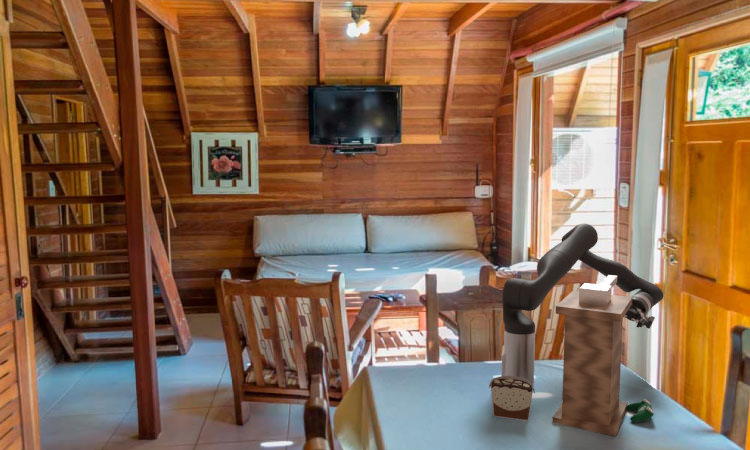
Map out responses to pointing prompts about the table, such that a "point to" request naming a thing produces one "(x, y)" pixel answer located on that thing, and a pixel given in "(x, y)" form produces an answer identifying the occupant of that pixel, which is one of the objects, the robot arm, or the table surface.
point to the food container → (511, 397)
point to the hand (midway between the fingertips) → (624, 318)
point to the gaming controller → (641, 411)
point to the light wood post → (597, 291)
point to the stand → (592, 364)
